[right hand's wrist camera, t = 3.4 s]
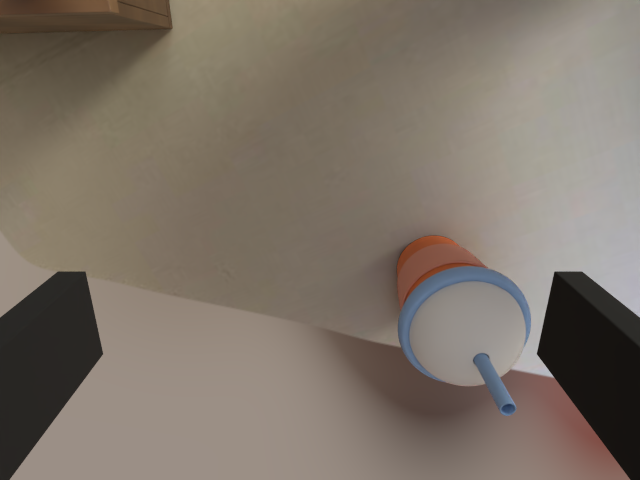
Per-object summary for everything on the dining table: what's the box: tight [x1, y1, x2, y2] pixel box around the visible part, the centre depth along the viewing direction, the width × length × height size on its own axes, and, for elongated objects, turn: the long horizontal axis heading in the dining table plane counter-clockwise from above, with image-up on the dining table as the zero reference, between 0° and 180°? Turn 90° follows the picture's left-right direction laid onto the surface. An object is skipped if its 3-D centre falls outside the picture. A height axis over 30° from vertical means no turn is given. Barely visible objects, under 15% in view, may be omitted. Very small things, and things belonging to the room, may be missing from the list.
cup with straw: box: [397, 236, 531, 416], centre depth 32 cm, size 9×9×18 cm
